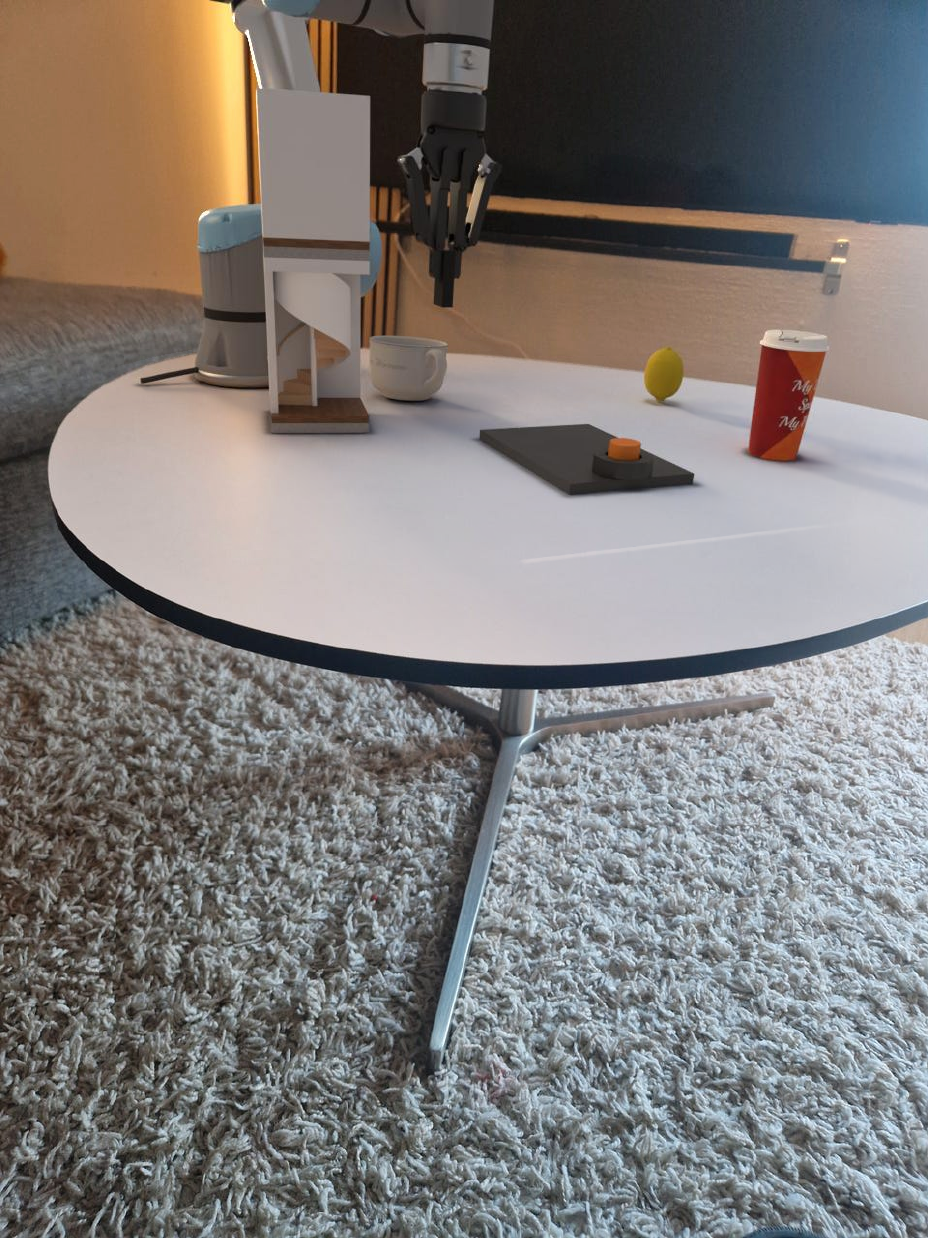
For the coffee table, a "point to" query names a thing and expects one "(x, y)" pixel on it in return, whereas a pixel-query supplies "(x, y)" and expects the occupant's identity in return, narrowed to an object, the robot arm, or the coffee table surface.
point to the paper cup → (785, 391)
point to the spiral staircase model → (314, 254)
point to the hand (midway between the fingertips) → (443, 305)
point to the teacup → (407, 366)
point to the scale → (582, 459)
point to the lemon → (663, 374)
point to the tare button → (624, 449)
